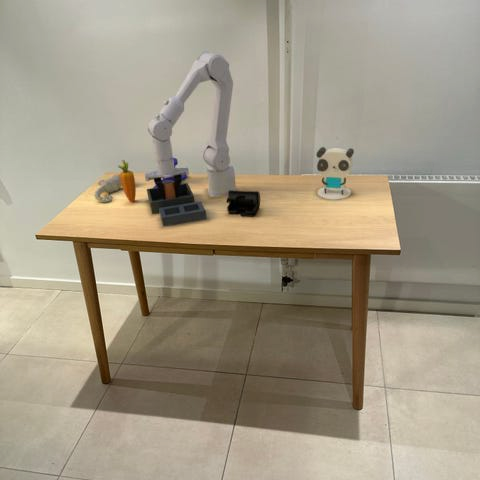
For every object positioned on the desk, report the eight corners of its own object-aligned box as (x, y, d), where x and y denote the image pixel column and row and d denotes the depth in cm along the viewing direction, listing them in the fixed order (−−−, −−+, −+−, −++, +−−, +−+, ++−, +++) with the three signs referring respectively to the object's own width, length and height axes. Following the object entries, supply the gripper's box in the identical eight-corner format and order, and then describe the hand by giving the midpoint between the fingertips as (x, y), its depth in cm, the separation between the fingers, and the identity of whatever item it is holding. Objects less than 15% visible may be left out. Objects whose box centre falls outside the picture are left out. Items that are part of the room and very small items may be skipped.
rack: (160, 217, 155) (158, 208, 153) (202, 211, 157) (201, 201, 155) (163, 227, 149) (161, 217, 147) (206, 220, 151) (205, 210, 149)
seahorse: (118, 201, 166) (139, 172, 179) (87, 190, 165) (110, 162, 179) (117, 212, 169) (138, 184, 183) (87, 202, 169) (109, 174, 182)
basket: (189, 195, 169) (187, 182, 166) (195, 208, 159) (193, 195, 157) (148, 201, 167) (146, 189, 164) (152, 215, 157) (150, 202, 154)
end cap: (260, 207, 157) (260, 188, 152) (256, 217, 151) (255, 197, 147) (232, 206, 159) (230, 187, 155) (226, 215, 153) (224, 195, 149)
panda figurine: (312, 197, 161) (313, 153, 152) (320, 185, 169) (322, 142, 160) (347, 201, 157) (350, 156, 148) (353, 188, 165) (357, 144, 156)
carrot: (136, 206, 164) (127, 163, 155) (123, 206, 165) (113, 163, 156) (141, 200, 168) (133, 158, 159) (128, 200, 169) (119, 158, 160)
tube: (176, 200, 165) (173, 179, 160) (178, 204, 161) (174, 183, 157) (165, 202, 164) (161, 181, 159) (166, 206, 161) (163, 185, 156)
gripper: (143, 165, 149) (150, 205, 157) (188, 158, 151) (193, 198, 160) (141, 158, 154) (148, 197, 163) (184, 152, 157) (189, 191, 165)
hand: (170, 197), depth 161 cm, fingers closed on tube, 4 cm apart
